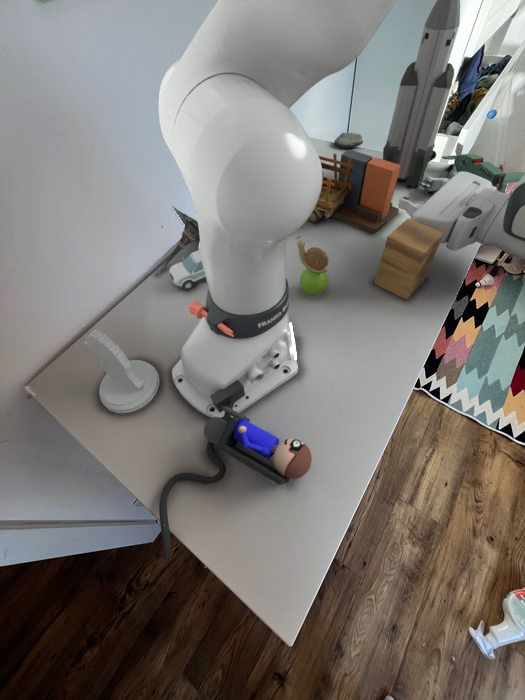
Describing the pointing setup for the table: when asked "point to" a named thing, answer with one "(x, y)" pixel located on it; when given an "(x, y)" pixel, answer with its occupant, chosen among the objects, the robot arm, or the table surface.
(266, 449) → the character figurine
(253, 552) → the table surface
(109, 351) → the white curved piece
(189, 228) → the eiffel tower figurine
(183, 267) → the toy car
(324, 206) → the toy truck
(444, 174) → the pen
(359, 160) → the pad mount
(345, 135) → the stone
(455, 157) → the toy airplane
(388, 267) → the block
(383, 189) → the back pad
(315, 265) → the snail figurine
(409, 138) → the toy rocket
